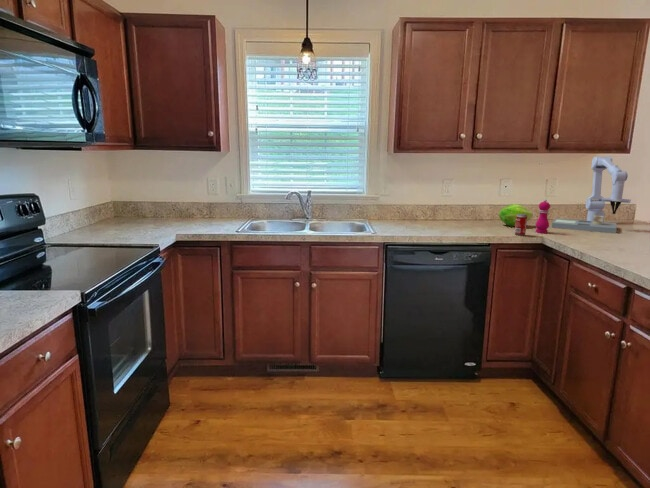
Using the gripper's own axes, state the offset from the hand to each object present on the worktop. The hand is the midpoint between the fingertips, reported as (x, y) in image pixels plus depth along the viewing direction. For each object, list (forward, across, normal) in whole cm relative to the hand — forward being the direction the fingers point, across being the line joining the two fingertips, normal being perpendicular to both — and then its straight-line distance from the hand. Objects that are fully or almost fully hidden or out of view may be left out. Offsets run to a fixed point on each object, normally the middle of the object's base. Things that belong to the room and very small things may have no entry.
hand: (613, 213), depth 261 cm
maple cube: (+7, -8, 0) cm, 10 cm away
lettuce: (+10, -52, -19) cm, 57 cm away
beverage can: (+10, -44, -48) cm, 66 cm away
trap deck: (+10, -14, 0) cm, 17 cm away
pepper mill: (+10, -35, -33) cm, 49 cm away
